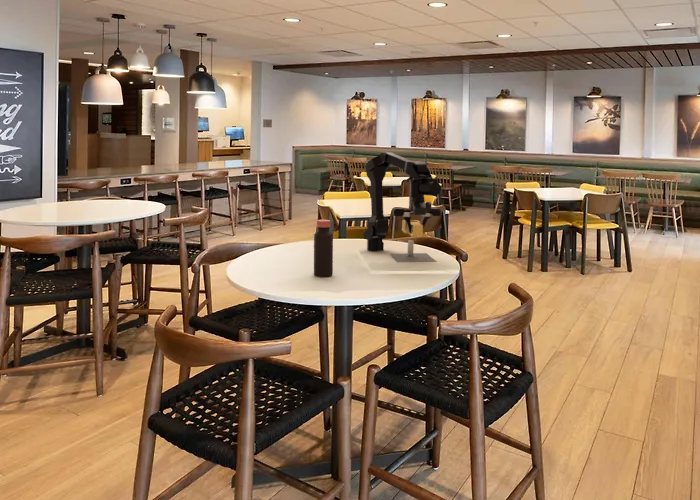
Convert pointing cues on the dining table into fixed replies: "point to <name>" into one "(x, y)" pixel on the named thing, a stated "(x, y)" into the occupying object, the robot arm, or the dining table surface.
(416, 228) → the tan long block
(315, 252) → the bottle
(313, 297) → the dining table surface
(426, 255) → the stand
